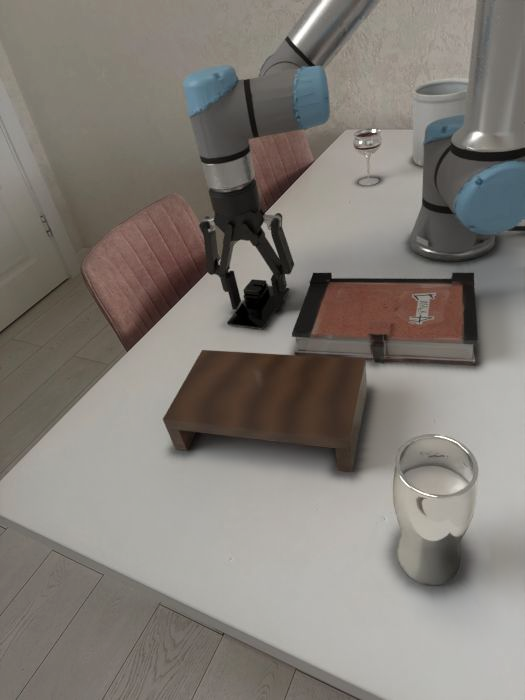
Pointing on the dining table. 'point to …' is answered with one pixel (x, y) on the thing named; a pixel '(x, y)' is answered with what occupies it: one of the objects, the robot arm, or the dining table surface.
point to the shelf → (272, 400)
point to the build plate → (255, 305)
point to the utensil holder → (435, 107)
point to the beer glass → (433, 505)
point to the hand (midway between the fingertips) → (258, 305)
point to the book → (389, 319)
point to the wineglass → (367, 148)
